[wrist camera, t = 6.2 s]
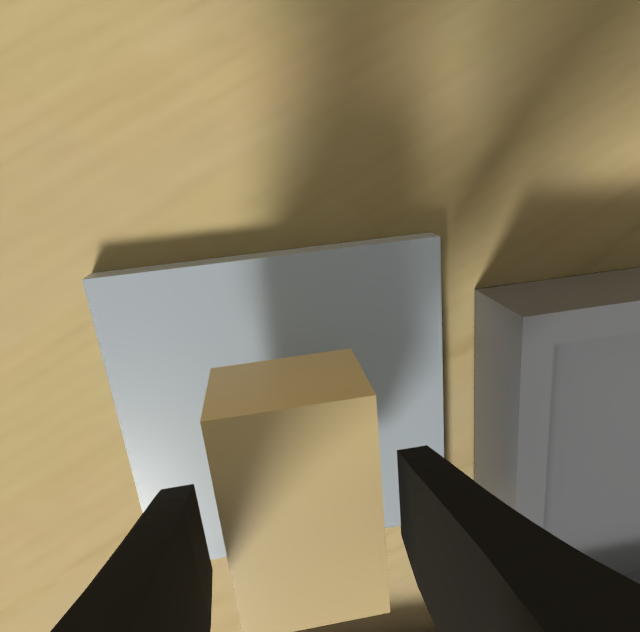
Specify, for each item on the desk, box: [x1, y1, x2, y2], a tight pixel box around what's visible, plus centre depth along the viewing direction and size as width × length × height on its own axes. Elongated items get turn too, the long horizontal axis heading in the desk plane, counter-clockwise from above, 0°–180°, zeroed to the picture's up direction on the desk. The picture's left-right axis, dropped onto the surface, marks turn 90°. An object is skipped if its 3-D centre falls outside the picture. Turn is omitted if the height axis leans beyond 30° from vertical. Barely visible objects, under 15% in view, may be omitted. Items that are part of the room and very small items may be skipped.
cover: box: [82, 232, 444, 632], centre depth 12 cm, size 9×9×5 cm
